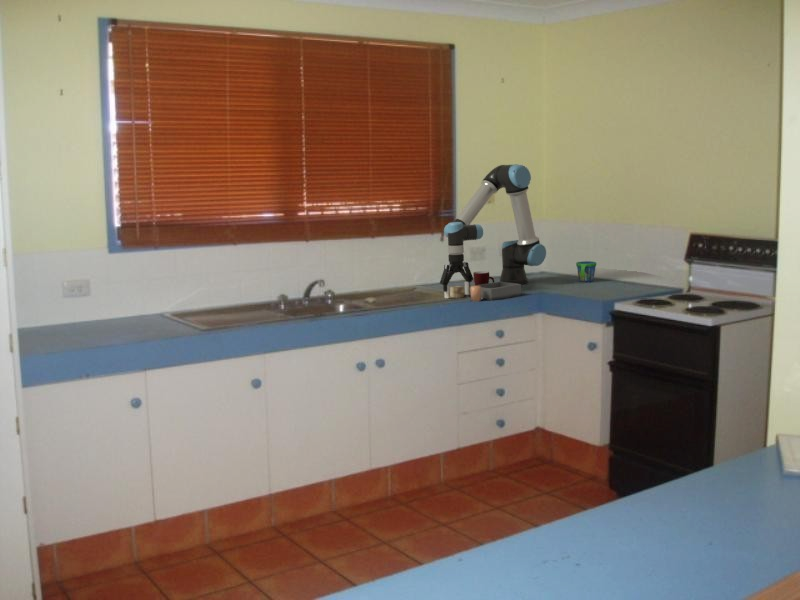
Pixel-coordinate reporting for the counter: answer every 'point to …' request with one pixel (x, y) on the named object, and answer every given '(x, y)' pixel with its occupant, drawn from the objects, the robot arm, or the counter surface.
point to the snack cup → (586, 271)
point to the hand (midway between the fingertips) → (457, 296)
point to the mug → (482, 277)
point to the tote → (499, 290)
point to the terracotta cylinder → (476, 293)
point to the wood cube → (457, 292)
